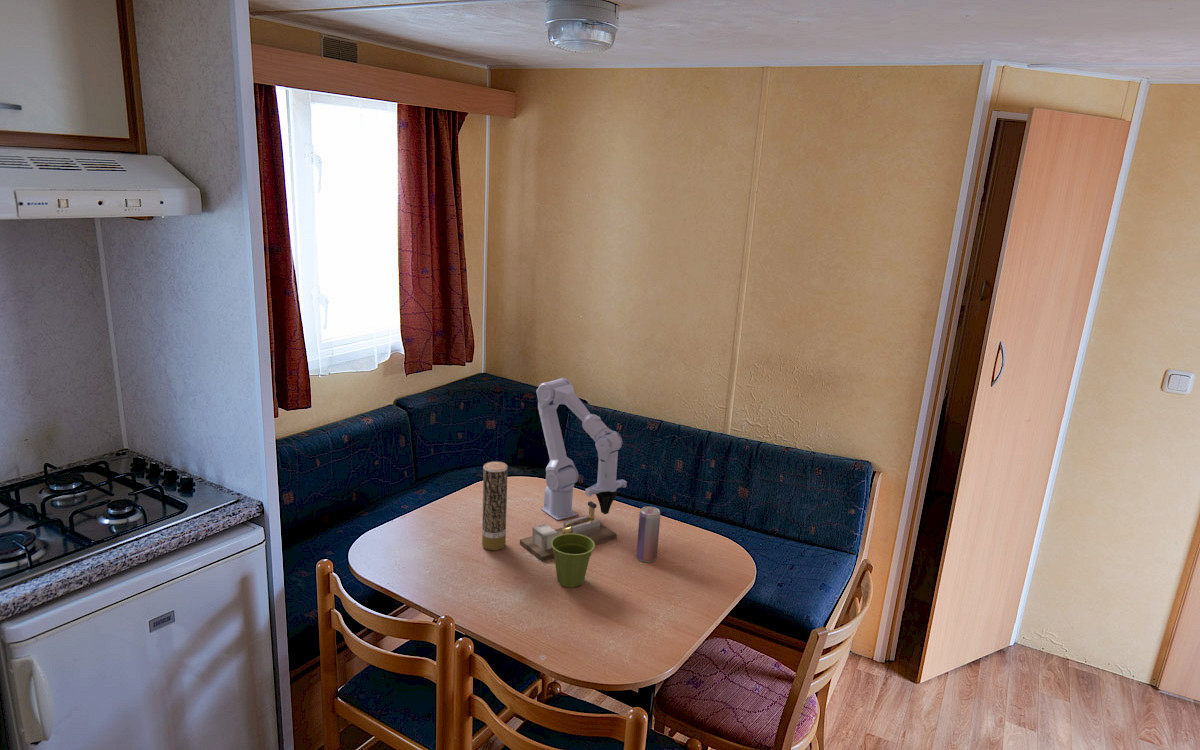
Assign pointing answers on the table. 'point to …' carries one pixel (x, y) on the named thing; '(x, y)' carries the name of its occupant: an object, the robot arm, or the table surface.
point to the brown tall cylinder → (494, 505)
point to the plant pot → (571, 557)
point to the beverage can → (648, 534)
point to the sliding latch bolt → (591, 516)
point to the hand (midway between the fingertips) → (604, 512)
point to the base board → (548, 554)
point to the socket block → (543, 536)
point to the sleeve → (583, 526)
